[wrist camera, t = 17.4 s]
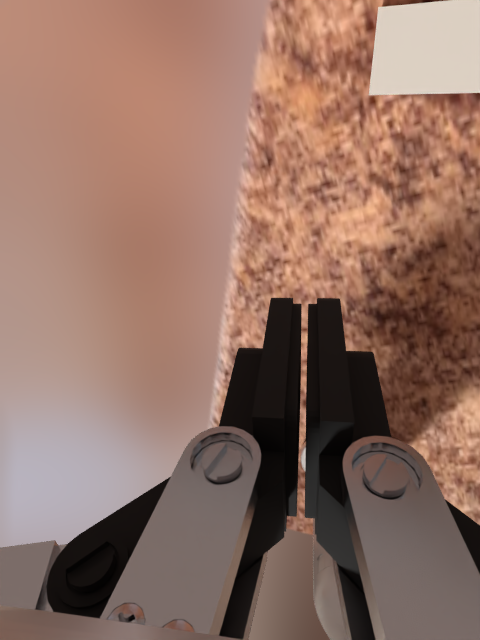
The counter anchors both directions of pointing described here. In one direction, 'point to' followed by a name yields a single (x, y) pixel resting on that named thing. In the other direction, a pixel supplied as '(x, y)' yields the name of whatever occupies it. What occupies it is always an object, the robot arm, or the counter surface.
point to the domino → (427, 48)
